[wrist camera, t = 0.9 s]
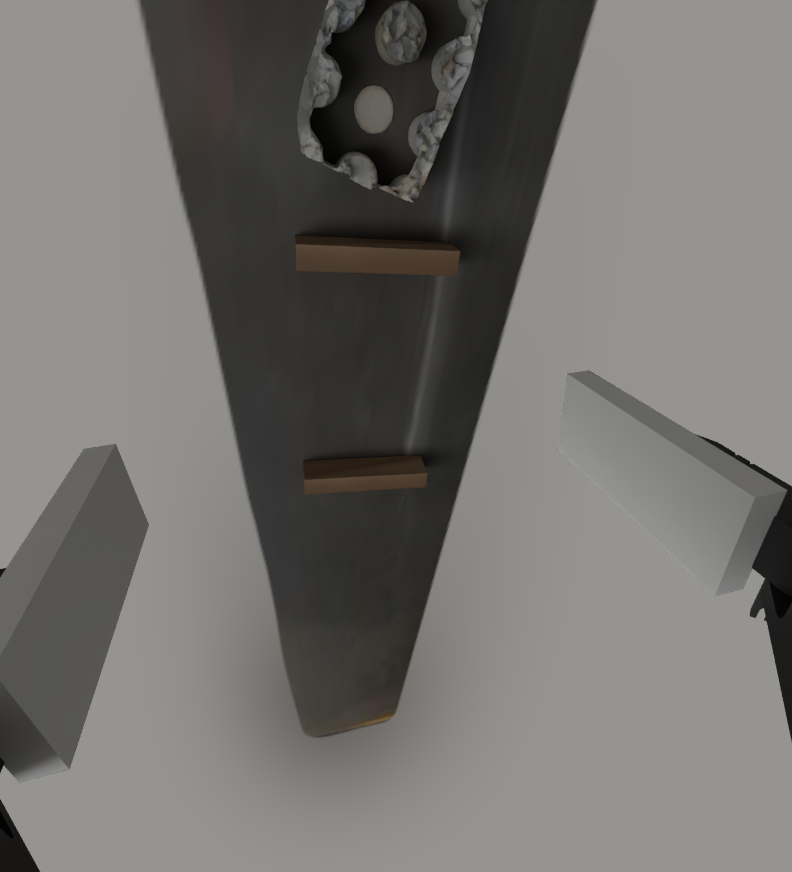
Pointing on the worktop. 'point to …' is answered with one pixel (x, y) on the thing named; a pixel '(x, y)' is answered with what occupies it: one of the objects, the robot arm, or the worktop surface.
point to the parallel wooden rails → (383, 260)
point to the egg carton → (373, 107)
